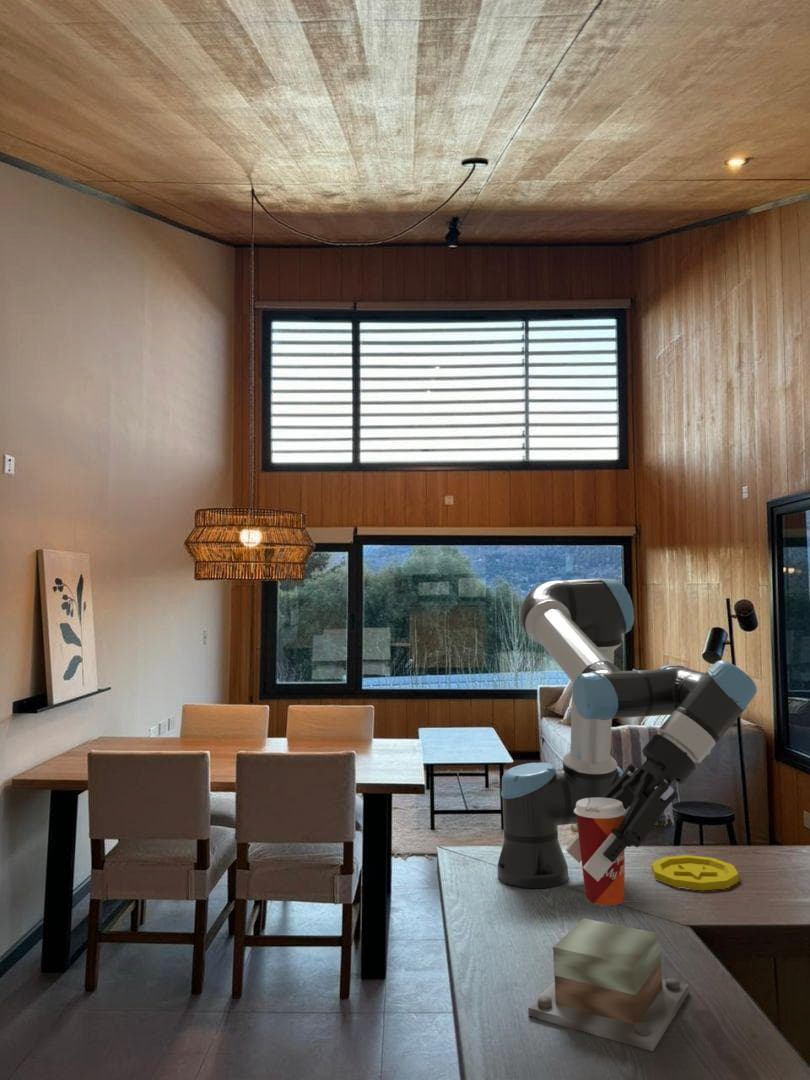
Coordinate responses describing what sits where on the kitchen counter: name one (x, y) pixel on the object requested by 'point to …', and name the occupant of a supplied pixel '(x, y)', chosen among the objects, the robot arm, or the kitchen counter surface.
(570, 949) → the bolted block on plate
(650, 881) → the kitchen counter surface
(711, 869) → the decorative disc
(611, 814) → the paper cup
